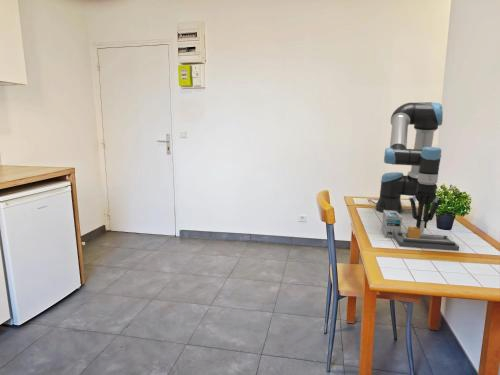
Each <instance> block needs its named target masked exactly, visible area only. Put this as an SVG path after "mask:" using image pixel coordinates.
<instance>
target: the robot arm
mask: <svg viewBox="0 0 500 375" xmlns="http://www.w3.org/2000/svg"><path fill="white" fill-rule="evenodd" d="M443 120H444V119H443V105H442V104H441V103H440V102H433V101H431V102H406V103H403V104H402V105H400V106H398V107H396V109H395V110H394V111H393V113H392V114H391V117H390V125H391V133H390V140H389V141H390V142H389V147H386V148H385V149H384V157H383V158H384V159H383V162H384V164H389V165H392V166H393V165H396V166H411V168H410V171H408V172H407V175H404V173H403V172H398V171H397V172H396V171H395V172H394V171H392V172H386V173H384V174H382V176H381V180H380V189H379V190H380V191H379V198H378V200H377V201H376V204H375V210H376V211H377V212H380V213H383V210H391V211H397V212H398V213H399V214H401V213H403V205H402V202H401V197H402V196H410V197H408V200H409V202H410V206H411V213H412V214H411V215H412V218H413V219H414V220H416V223H415V224H416V225H415V227H417V228H419V229H420V230H421V232H420V236H423V234H424V231H425V229H427V225H428V222H429V221H433V218H434V216H435V214H436V212H437V210H438V207H439V205H440V204H441V202H442V200H441V199H440V198H438V197H437V195H436V193H437V186H438V185H437V183H438V179H439V170H440V164H441V158H442V149H441V148H440V147H438V146H435V147H434V146H433V141H434V136H435V132H436V131H437V130H438V129H439V127H440V126H442V125H443ZM410 125H413V129H414V130H415V138H414V139H415V140H414V145H413V148H407V147H408V145H407V144H408V130H409V129H408V127H409V126H410ZM416 201H417V202H418V203H417V204H418V207H417V205H416ZM431 204H432V205H431ZM430 207H431V208H430Z"/></svg>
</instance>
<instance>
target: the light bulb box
mask: <svg viewBox="0 0 500 375" xmlns="http://www.w3.org/2000/svg"><path fill="white" fill-rule="evenodd" d="M381 222H382V223H381V232H382V233H383V235H384V237H385V238H390V239H391V238H393V239H394V234H398V233H402V232H401V230H402V225H403V224H402V222H403V216H402V214H401V213H398V212H397V211H391V210H383V212H382V219H381Z"/></svg>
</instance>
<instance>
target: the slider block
mask: <svg viewBox="0 0 500 375" xmlns="http://www.w3.org/2000/svg"><path fill="white" fill-rule="evenodd" d="M420 232H421V230H420V229H419V228H417V226H408V227H407V232H406V233H407V237H408V238H416V239H420Z"/></svg>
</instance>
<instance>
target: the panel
mask: <svg viewBox="0 0 500 375" xmlns="http://www.w3.org/2000/svg"><path fill="white" fill-rule="evenodd" d="M407 233H408V232H401V233H398V234H394V238H393V239H394V241H395V242H396V244H397V245H398V247H405V248H417V249H431V250H442V251H443V250H444V251H455V252H456V251H457V252H458V251H460V245H458V244H457V243H456V242H455V241H454V240H453V239H451V238H450V237H449V236H448V235H441V234H424V233H423V236H420V239H416V238H408V237H407Z"/></svg>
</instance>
